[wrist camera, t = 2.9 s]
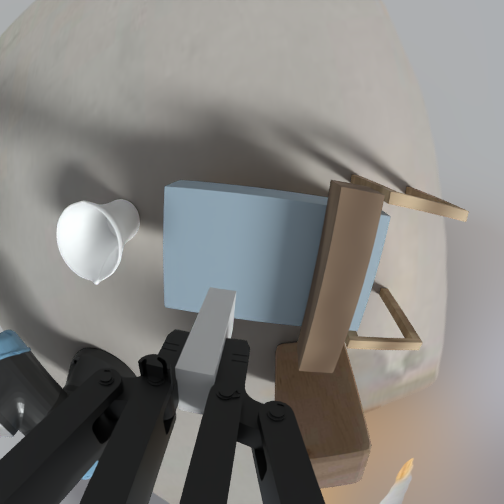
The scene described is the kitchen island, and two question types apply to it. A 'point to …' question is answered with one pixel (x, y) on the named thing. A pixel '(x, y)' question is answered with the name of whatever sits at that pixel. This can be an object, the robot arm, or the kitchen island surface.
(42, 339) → the kitchen island surface
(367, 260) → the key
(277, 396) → the wooden block
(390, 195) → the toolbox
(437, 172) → the kitchen island surface
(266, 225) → the lid
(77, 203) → the cup
